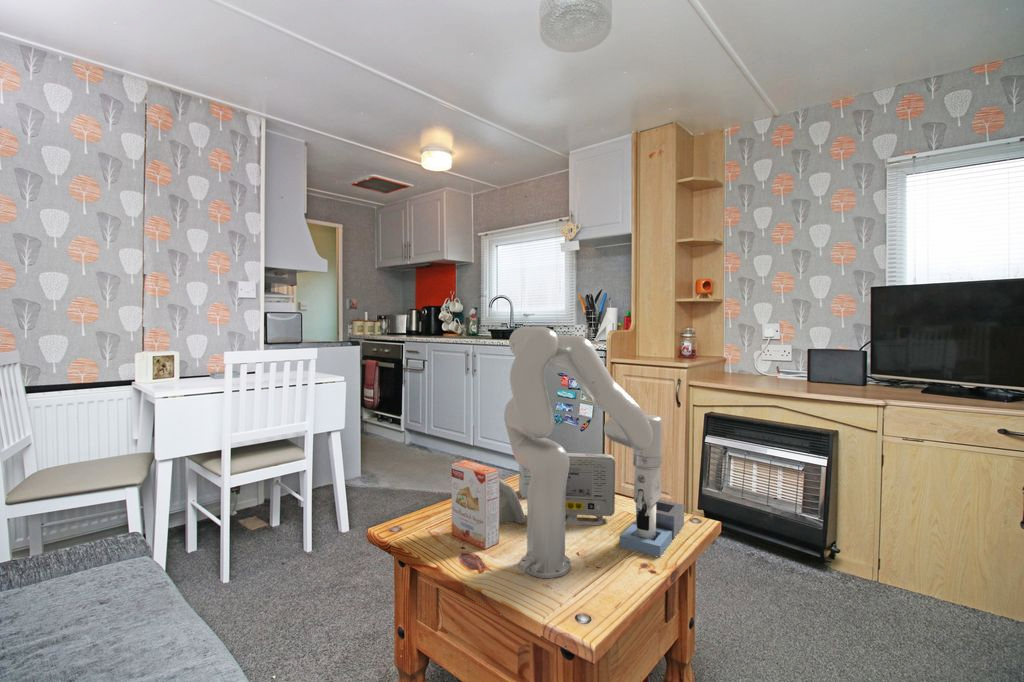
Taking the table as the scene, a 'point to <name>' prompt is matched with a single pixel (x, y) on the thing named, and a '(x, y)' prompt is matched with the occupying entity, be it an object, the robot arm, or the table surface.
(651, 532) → the plug
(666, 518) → the upper socket
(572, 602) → the table surface
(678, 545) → the table surface
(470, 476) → the cracker box
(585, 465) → the network device
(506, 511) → the digital clock
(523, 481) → the supplement box
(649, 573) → the table surface
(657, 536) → the lower socket
